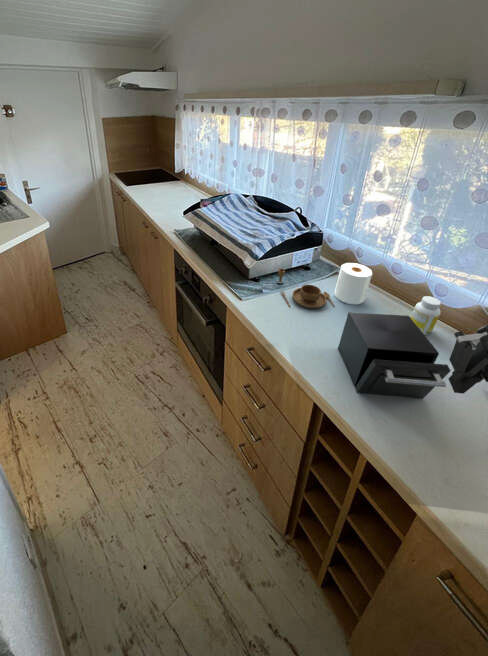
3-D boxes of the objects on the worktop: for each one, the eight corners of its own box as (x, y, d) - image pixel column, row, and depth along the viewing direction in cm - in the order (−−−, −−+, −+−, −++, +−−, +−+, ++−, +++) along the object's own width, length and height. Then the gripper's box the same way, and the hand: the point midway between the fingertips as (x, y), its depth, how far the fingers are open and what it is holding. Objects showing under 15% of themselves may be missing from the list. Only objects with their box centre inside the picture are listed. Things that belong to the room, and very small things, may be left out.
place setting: (290, 311, 109) (292, 297, 106) (274, 280, 127) (276, 268, 124) (338, 309, 110) (342, 296, 107) (315, 279, 127) (318, 267, 124)
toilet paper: (353, 288, 121) (360, 261, 116) (369, 303, 112) (379, 275, 107) (329, 290, 120) (335, 263, 115) (343, 306, 111) (351, 277, 106)
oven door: (429, 411, 75) (458, 384, 66) (360, 405, 77) (380, 377, 68) (420, 392, 79) (447, 364, 70) (354, 387, 80) (373, 358, 72)
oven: (419, 392, 79) (439, 353, 72) (354, 387, 81) (368, 348, 74) (393, 352, 91) (408, 315, 85) (337, 348, 93) (348, 312, 86)
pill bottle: (431, 327, 101) (444, 298, 95) (431, 338, 96) (445, 309, 91) (407, 320, 104) (419, 292, 99) (406, 330, 99) (419, 302, 94)
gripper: (576, 294, 43) (485, 370, 59) (469, 291, 46) (410, 364, 62) (620, 342, 38) (507, 410, 54) (496, 335, 40) (424, 402, 57)
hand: (455, 385), depth 58 cm, fingers closed
